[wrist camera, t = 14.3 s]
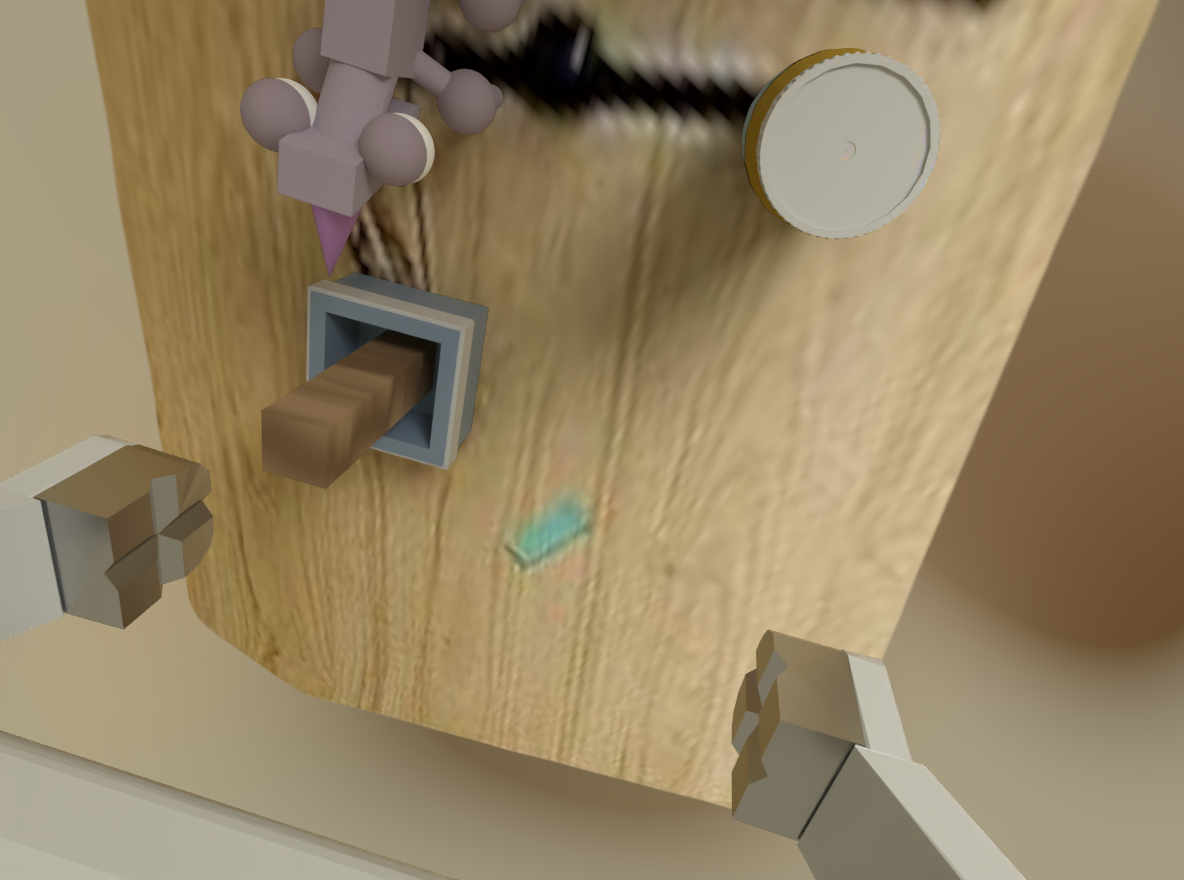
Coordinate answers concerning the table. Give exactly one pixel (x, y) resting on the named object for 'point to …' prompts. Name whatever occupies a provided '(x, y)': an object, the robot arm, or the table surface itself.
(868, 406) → the table surface
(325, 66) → the mauve toy figure
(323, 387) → the brown wooden block
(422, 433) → the blue square box
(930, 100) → the bottle
